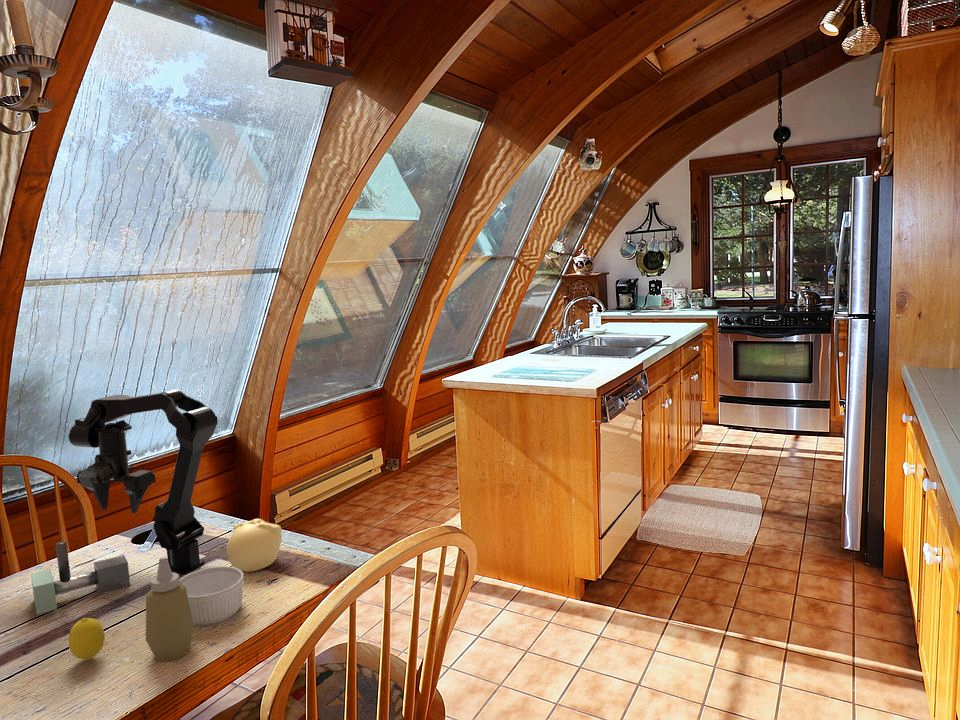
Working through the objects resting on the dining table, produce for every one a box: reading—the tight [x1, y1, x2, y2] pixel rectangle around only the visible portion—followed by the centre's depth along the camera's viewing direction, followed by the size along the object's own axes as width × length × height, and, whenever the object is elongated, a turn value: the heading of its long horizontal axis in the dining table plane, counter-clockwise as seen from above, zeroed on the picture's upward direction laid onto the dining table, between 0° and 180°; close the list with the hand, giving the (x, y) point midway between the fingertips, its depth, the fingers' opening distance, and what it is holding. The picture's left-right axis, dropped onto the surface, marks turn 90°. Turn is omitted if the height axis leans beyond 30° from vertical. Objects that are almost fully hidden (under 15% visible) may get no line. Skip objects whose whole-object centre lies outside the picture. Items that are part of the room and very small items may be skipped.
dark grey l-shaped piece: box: [54, 540, 98, 596], centre depth 143 cm, size 12×3×11 cm, turn 127°
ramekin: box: [179, 565, 245, 627], centre depth 135 cm, size 13×13×7 cm
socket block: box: [30, 568, 58, 615], centre depth 140 cm, size 4×8×6 cm, turn 37°
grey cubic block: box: [93, 554, 131, 595], centre depth 148 cm, size 6×5×6 cm
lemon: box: [68, 617, 106, 661], centre depth 119 cm, size 6×6×8 cm
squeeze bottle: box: [145, 556, 195, 662], centre depth 120 cm, size 8×8×18 cm
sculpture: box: [226, 518, 283, 573], centre depth 156 cm, size 11×12×11 cm
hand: (119, 511), depth 161 cm, fingers open, 9 cm apart
